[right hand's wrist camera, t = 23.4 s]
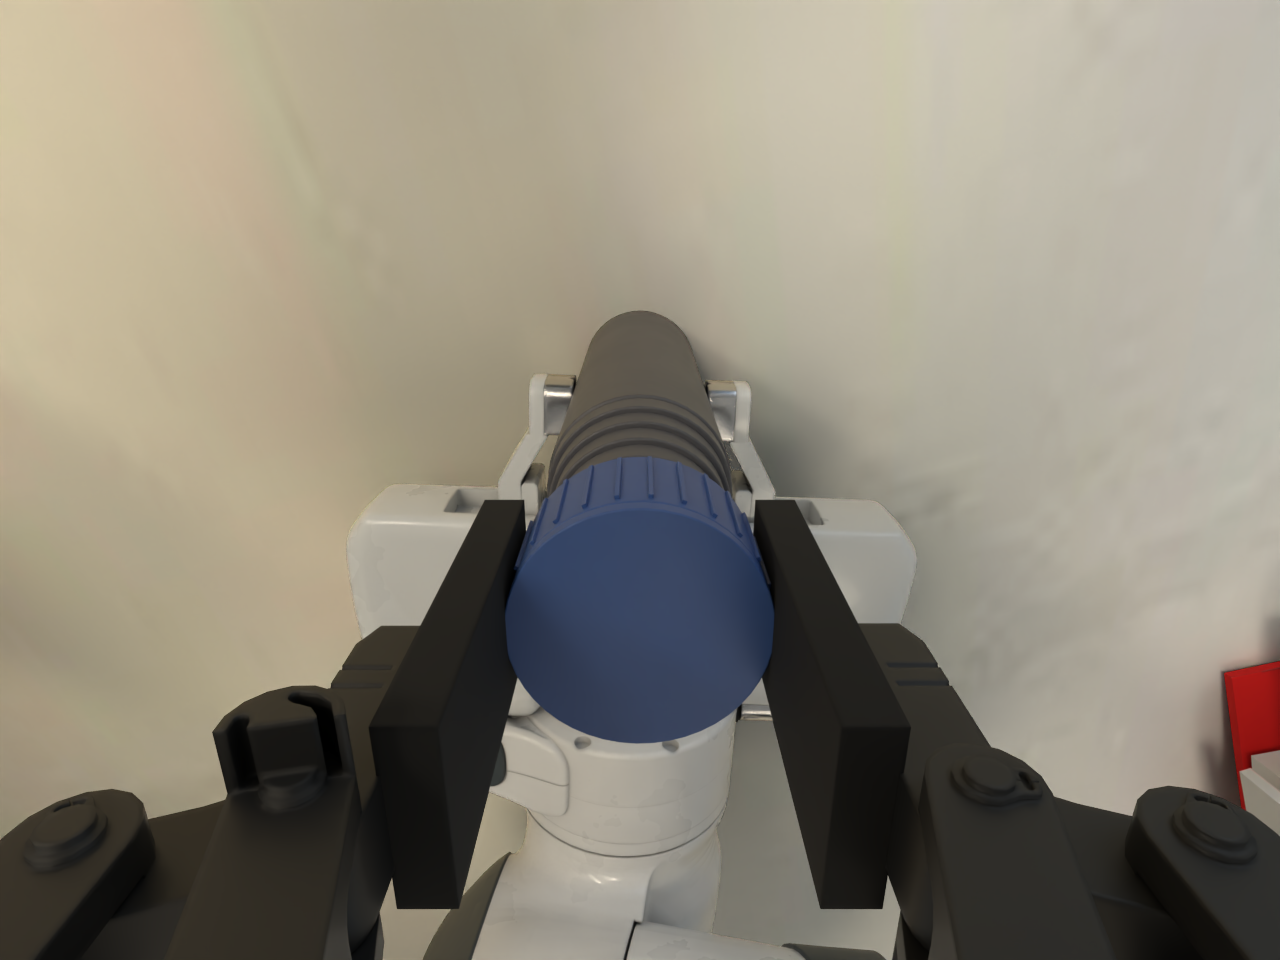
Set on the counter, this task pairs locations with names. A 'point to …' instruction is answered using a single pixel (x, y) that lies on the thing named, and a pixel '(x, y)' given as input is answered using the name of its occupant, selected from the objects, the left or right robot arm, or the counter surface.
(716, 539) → the cap
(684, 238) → the counter surface
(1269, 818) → the toy
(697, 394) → the bottle
